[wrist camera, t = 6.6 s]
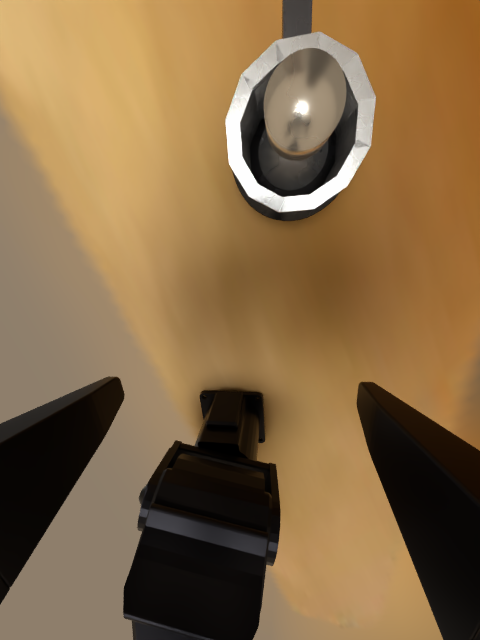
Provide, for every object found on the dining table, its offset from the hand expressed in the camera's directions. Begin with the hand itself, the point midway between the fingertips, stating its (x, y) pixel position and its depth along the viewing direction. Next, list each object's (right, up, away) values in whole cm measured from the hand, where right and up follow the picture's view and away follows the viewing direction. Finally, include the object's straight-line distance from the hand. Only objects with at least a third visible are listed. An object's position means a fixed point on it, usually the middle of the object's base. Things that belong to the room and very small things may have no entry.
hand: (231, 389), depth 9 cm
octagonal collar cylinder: (+4, +14, +8) cm, 16 cm away
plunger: (+4, +13, +7) cm, 15 cm away
